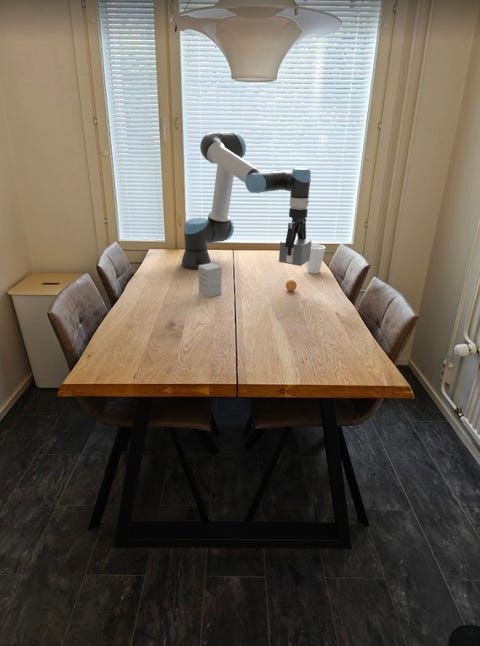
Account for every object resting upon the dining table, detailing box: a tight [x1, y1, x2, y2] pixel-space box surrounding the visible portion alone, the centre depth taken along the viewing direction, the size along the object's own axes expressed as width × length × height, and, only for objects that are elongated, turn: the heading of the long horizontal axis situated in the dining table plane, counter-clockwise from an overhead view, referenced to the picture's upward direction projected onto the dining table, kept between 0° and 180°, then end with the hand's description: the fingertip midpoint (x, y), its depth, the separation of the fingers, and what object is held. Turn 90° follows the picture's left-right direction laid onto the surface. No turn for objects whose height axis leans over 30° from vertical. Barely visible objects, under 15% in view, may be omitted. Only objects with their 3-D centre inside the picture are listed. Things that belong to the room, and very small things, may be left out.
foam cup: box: [306, 243, 326, 274], centre depth 222 cm, size 10×9×13 cm
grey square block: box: [278, 237, 312, 267], centre depth 190 cm, size 10×10×9 cm
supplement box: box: [198, 262, 222, 298], centre depth 190 cm, size 7×7×13 cm
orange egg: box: [285, 279, 298, 292], centre depth 197 cm, size 5×5×5 cm
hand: (294, 259), depth 192 cm, fingers closed on grey square block, 10 cm apart
